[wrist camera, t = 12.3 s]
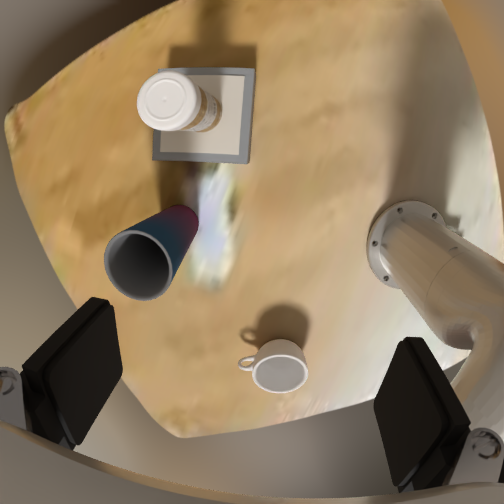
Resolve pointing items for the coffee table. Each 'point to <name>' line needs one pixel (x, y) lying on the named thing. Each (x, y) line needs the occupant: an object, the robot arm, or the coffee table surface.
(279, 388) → the teacup
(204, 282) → the coffee table surface
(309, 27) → the coffee table surface
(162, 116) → the sprinkles bottle
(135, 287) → the cup
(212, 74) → the base
